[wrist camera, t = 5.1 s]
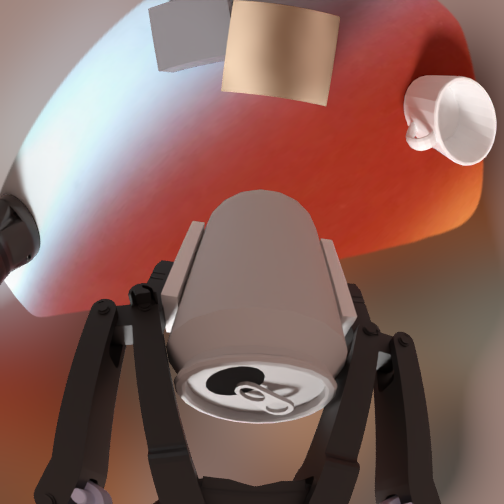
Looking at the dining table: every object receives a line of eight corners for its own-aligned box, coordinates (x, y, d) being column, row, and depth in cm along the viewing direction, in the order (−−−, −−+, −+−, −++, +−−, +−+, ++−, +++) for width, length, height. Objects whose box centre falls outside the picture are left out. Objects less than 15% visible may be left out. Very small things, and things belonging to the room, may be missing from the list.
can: (247, 161, 16) (218, 315, 6) (336, 226, 18) (391, 386, 8) (188, 243, 20) (134, 397, 10) (270, 290, 22) (270, 438, 12)
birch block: (229, 90, 27) (221, 91, 22) (239, 14, 21) (233, 0, 16) (315, 102, 27) (326, 106, 22) (326, 27, 21) (340, 16, 17)
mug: (443, 64, 21) (481, 67, 15) (467, 131, 26) (503, 148, 19) (369, 96, 26) (398, 102, 19) (401, 167, 31) (431, 190, 24)
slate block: (173, 72, 25) (158, 71, 21) (164, 17, 21) (148, 8, 17) (240, 57, 25) (236, 53, 20) (230, 1, 20) (225, -12, 16)
